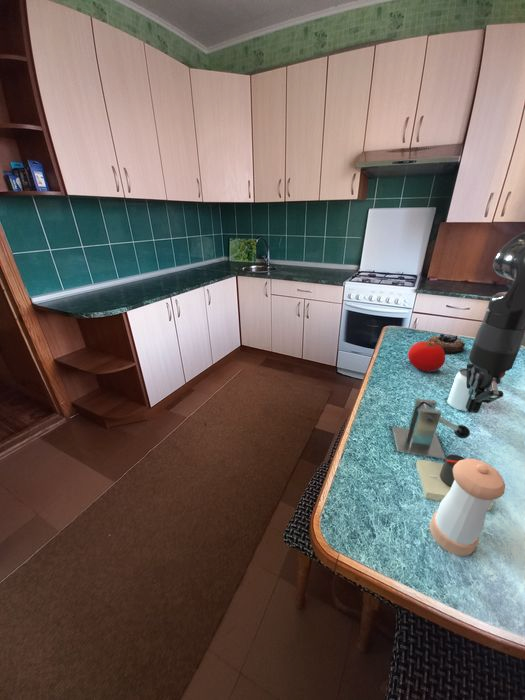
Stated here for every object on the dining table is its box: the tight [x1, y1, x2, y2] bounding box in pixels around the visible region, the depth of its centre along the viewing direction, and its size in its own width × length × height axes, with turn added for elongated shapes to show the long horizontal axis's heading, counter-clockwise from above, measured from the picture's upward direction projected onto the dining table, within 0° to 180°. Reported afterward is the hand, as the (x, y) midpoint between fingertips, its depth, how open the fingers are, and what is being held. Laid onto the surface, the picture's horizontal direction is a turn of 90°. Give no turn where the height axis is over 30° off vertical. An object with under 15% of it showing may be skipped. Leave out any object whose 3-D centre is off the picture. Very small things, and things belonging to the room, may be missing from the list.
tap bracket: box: [392, 398, 447, 460], centre depth 73 cm, size 11×9×13 cm
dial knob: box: [440, 454, 466, 487], centre depth 61 cm, size 5×5×5 cm
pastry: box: [427, 333, 466, 355], centre depth 123 cm, size 11×12×6 cm
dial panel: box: [415, 458, 494, 512], centre depth 63 cm, size 12×9×3 cm
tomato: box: [407, 340, 446, 372], centre depth 108 cm, size 11×12×10 cm
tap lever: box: [417, 403, 471, 440], centre depth 71 cm, size 13×3×3 cm, turn 77°
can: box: [446, 368, 470, 412], centre depth 87 cm, size 6×6×12 cm
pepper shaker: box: [429, 458, 506, 557], centre depth 50 cm, size 7×7×19 cm
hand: (471, 410), depth 68 cm, fingers closed
